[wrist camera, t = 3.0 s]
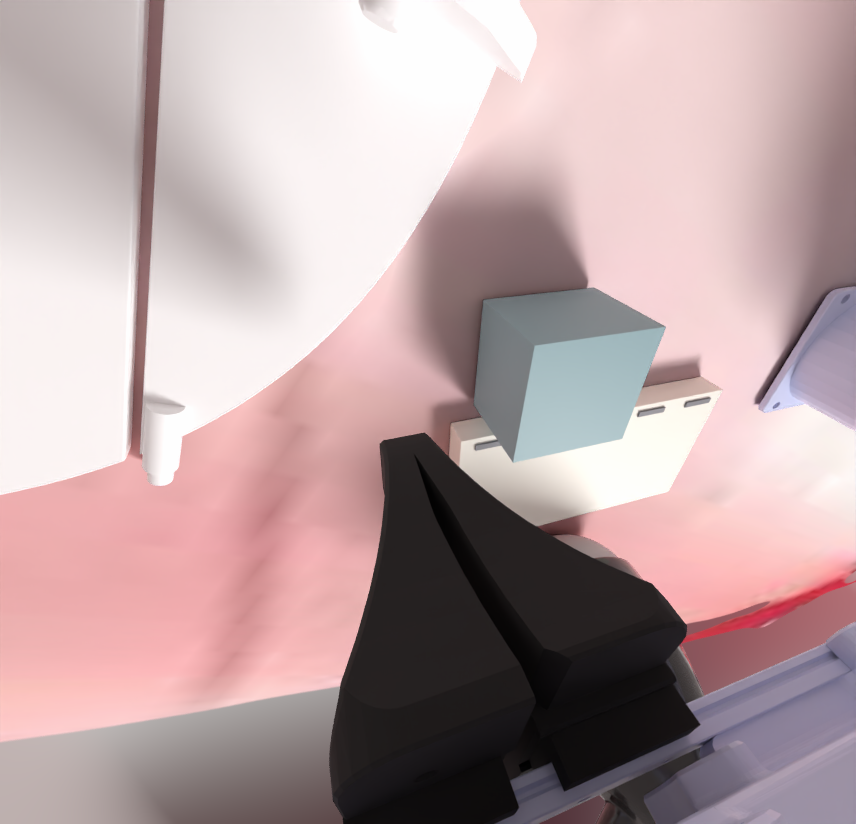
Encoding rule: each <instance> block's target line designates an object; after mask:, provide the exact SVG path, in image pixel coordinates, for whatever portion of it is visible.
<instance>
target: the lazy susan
mask: <svg viewBox="0 0 856 824" xmlns="http://www.w3.org/2000/svg"><path fill="white" fill-rule="evenodd" d="M520 1H521V0H164V15H163V34H162V52H161V71H160V89H159V108H158V126H157V145H156V163H155V182H154V200H153V219H152V237H151V256H150V274H149V293H148V311H147V330H146V348H145V367H144V386H143V404H142V423H141V441H140V454H143V458H142V468H143V469H144V470H145V471H146V472H147V480H148V482H149V483H150V484H152V485H156V486H163V485H167V484H169V483H171V482H172V480H173V477H174V471H176V470H177V469H178V467H179V462H180V453H181V445H182V436H184V435H186V434H188V433H190V432H192V431H194V430H196V429H198V428H200V427H202V426H204V425H205V424H207V423H209V422H211V421H213V420H215V419H217V418H218V417H220V416H222V415H224V414H225V413H227V412H229V411H230V410H232V409H234V408H235V407H237V406H239V405H240V404H242V403H243V402H245V401H246V400H248V399H250V398H251V397H253V396H254V395H256V394H257V393H259V392H260V391H261V390H263V389H264V388H266V387H267V386H268V385H270V384H271V383H273V382H274V381H275V380H277V379H278V378H279V377H281V376H282V375H283V374H284V373H286V372H287V371H288V370H290V369H291V368H292V367H293V366H295V365H296V364H297V363H298V362H299V361H301V360H302V359H303V358H304V357H305V356H306V355H308V354H309V353H310V352H311V351H312V350H313V349H314V348H315V347H317V346H318V345H319V344H320V343H321V342H322V341H323V340H324V339H325V338H326V337H327V336H328V335H329V334H330V333H331V332H332V331H333V330H334V329H335V328H336V327H337V326H338V325H339V324H340V323H341V322H342V321H343V320H344V319H345V318H346V317H347V316H348V315H349V314H350V313H351V312H352V310H353V309H354V308H355V307H356V306H357V305H358V304H359V303H360V302H361V301H362V299H363V298H364V297H365V296H366V295H367V293H368V292H369V291H370V290H371V288H372V287H373V286H374V285H375V284H376V282H377V281H378V280H379V279H380V277H381V276H382V275H383V273H384V272H385V271H386V269H387V268H388V267H389V266H390V264H391V263H392V262H393V260H394V259H395V258H396V256H397V255H398V253H399V252H400V250H401V249H402V247H403V246H404V245H405V243H406V242H407V240H408V239H409V237H410V236H411V234H412V233H413V231H414V230H415V228H416V226H417V225H418V223H419V222H420V220H421V218H422V217H423V215H424V214H425V212H426V211H427V209H428V207H429V205H430V204H431V202H432V200H433V198H434V197H435V195H436V193H437V192H438V190H439V188H440V186H441V185H442V183H443V181H444V179H445V177H446V175H447V173H448V171H449V170H450V168H451V166H452V164H453V162H454V160H455V158H456V156H457V154H458V152H459V150H460V148H461V146H462V144H463V142H464V140H465V138H466V136H467V134H468V131H469V129H470V127H471V125H472V123H473V121H474V119H475V116H476V114H477V112H478V109H479V107H480V105H481V103H482V100H483V98H484V96H485V93H486V91H487V89H488V86H489V84H490V81H491V79H492V76H493V74H494V71H495V69H496V66H497V67H499V68H500V69H502V70H503V71H505V72H506V73H508V74H509V75H511V76H512V77H514V78H515V79H517V80H518V81H519V82H522V80H523V78H524V75H525V73H526V70H527V68H528V65H529V63H530V60H531V58H532V55H533V53H534V50H535V48H536V31H535V30H534V28H533V26H532V25H531V23H530V21H529V19H528V18H527V16H526V14H525V12H524V11H523V9H522V7H521V5H520ZM148 23H149V0H0V495H1V494H6V493H11V492H16V491H20V490H25V489H29V488H33V487H37V486H42V485H46V484H49V483H53V482H57V481H61V480H64V479H68V478H72V477H75V476H78V475H82V474H85V473H88V472H92V471H95V470H98V469H101V468H104V467H107V466H110V465H113V464H116V463H119V462H122V461H124V460H125V459H126V457H127V454H128V452H129V450H130V447H131V441H132V416H133V391H134V367H135V342H136V318H137V293H138V268H139V244H140V219H141V195H142V170H143V146H144V121H145V96H146V72H147V47H148Z"/></svg>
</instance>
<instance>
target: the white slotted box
mask: <svg viewBox="0 0 856 824" xmlns="http://www.w3.org/2000/svg"><path fill="white" fill-rule="evenodd" d="M721 392H722V389H721V388H719V387H718V386H716V385H714V384H713V383H711V382H709V381H708V380H706V379H705V378H703V377H697V378H691V379H686V380H681V381H675V382H670V383H664V384H659V385H654V386H648V387H643V388H642V389H641V392H640V394H639V397H638V400H637V402H636V405H635V407H634V410H633V412H632V415H631V418H630V420H629V423H628V425H627V428H626V430H625V433H624V436H623V438H622V439H620V440H615V441H610V442H606V443H601V444H597V445H592V446H588V447H583V448H578V449H574V450H569V451H565V452H560V453H556V454H551V455H546V456H542V457H537V458H533V459H528V460H524V461H519V462H515V463H513V462H512V461H511V459H510V458H509V456H508V455H507V453H506V452H505V450H504V449H503V447H502V446H501V444H500V443H499V441H498V440H497V439H496V437H495V436H494V434H493V433H492V431H491V430H490V428H489V427H488V425H487V424H486V422H485V421H484V419H483V418H482V417H481V418H475V419H470V420H465V421H459V422H454V423H451V429H450V448H449V458H450V459H451V460H452V461H454V462H455V463H456V464H457V465H458V466H459V467H460V468H461V469H462V470H463V471H464V472H465V473H467V474H468V475H469V476H470V477H471V478H472V479H473V480H474V481H475V482H477V483H478V484H479V485H480V486H481V487H483V488H484V489H485V490H486V491H487V492H489V493H490V494H491V495H492V496H494V497H495V498H496V499H497V500H499V501H500V502H501V503H503V504H504V505H505V506H507V507H508V508H510V509H511V510H512V511H514V512H515V513H517V514H518V515H520V516H521V517H522V518H524V519H525V520H527V521H528V522H530V523H532V524H533V525H535V526H536V527H537V526H541V525H544V524H548V523H552V522H556V521H559V520H563V519H567V518H571V517H574V516H578V515H582V514H586V513H590V512H593V511H597V510H601V509H605V508H608V507H612V506H616V505H620V504H623V503H627V502H631V501H635V500H639V499H642V498H646V497H650V496H654V495H657V494H661V493H665V492H668V491H669V489H670V487H671V486H672V484H673V482H674V480H675V478H676V476H677V474H678V473H679V471H680V469H681V467H682V465H683V463H684V461H685V459H686V458H687V456H688V454H689V452H690V450H691V448H692V446H693V444H694V443H695V441H696V439H697V437H698V435H699V433H700V431H701V430H702V428H703V426H704V424H705V422H706V420H707V418H708V416H709V415H710V413H711V411H712V409H713V407H714V405H715V403H716V402H717V400H718V398H719V396H720V394H721Z"/></svg>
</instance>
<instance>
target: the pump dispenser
mask: <svg viewBox="0 0 856 824" xmlns="http://www.w3.org/2000/svg"><path fill="white" fill-rule="evenodd" d="M553 537H555V538H557V539H558V540H560V541H562V542H564V543H566V544H567V545H569V546H571V547H573V548H574V549H576V550H578V551H580V552H582V553H584V554H586V555H588V556H590V557H592V558H594V559H596V560H598V561H601V562H603V563H605V564H607V565H609V566H611V567H614V568H616V569H618V570H621V571H623V572H626V573H628V574H630V575H633V576H635V577H637V578H640V579H642V578H641V576H640V575H639V574H638V572H637V571H636V570H635V569H634V567H633V566H632V565H631V564H630V563H629V562H628V561H626V560H624V559H622V558H618V557H617V556H616V555H615V554H613V553H612V552H611V551H610V550H608V549H607V548H606V547H604V546H603V545H601V544H599V543H597V542H595V541H593V540H591V539H588V538H585V537H582V536H577V535H555V536H553ZM642 580H643V579H642ZM666 663H667V665H668V666H669V668H670V669H671V670H672V672H673V673H674V675H675V676H676V679H677V681H676V682H675V683H674V684H673V686H674V687H675V689H676V690H677V691H678V693H679V694H680V696H681V697H682V699H683V700H684V701H685V703H686V704H687V703H689V702H691V701H694V700H696V699H698V698H700V697H703V696H704V694H703V691H702V689H701V686H700V684H699V681H698V679H697V677H696V674H695V672H694V670H693V668H692V666H691V663H690V661H689V659H688V657H687V655H686V653H685V651H684V649H683V647H682V645H681V644H680V645H679V646H678V648H677V649H676V650H675V651H674V652H673V654H672V655H671V656H670V657H669V658H668V659H667V661H666ZM701 747H702V746H701ZM701 747H699V748H697V749H695V750H693V751H691V752H689V753H687V754H684V755H682V756H680V757H678V758H676V759H674V760H672V761H670V762H668V763H665V764H663V765H661V766H659V767H657V768H655V769H653V770H651V771H649V772H646V773H644V774H642V775H640V776H638V777H636V778H634V779H632V780H630V781H627V782H625V783H623V784H621V785H619V786H617V787H615V788H613V789H610V790H608V791H606V792H604V793H602V794H600V796H601V797H602V798H603V799H604V800H605V805H604V808H603V809H602V811H601V813H600V815H599V817H598V819H597V821H596V823H595V824H656V823H655V821H654V819H653V817H652V816H651V814H650V812H649V810H648V808H647V806H646V804H645V803H644V795H646V794H647V793H649V792H650V791H652V790H654V789H655V788H657V787H658V786H660V785H661V784H663V783H664V782H666V781H667V780H668V779H670V778H671V777H672V776H673V775H674V774H675V773H676V772H678V771H680V770H682V769H684V768H685V767H687V766H689V765H691V764H693V763H695V762H697V761H698V760H700V759H701V757H700V748H701Z"/></svg>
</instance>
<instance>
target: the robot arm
mask: <svg viewBox="0 0 856 824" xmlns="http://www.w3.org/2000/svg"><path fill="white" fill-rule="evenodd" d="M802 404H806V405H808V406H810V407H812V408H814V409H816V410H817V411H819V412H821V413H823V414H825V415H826V416H828V417H830V418H832V419H834V420H836V421H837V422H839V423H841V424H843V425H845V426H847V427H848V428H850V429H852V430H854V431H856V286H853V287H845V288H838V289H835V290H833V291H831V292H830V293H829V294H828V295H827V296H826V297H825V299H824V301H823V302H822V304H821V305H820V307H819V309H818V310H817V312H816V313H815V315H814V317H813V318H812V320H811V322H810V323H809V325H808V326H807V328H806V330H805V331H804V333H803V335H802V336H801V338H800V339H799V341H798V343H797V344H796V346H795V348H794V349H793V351H792V352H791V354H790V356H789V357H788V359H787V361H786V362H785V364H784V365H783V367H782V369H781V370H780V372H779V373H778V375H777V377H776V378H775V380H774V382H773V383H772V385H771V386H770V388H769V390H768V391H767V393H766V395H765V396H764V398H763V399H762V401H761V403H760V404H759V410H761V411H762V412H764V413H766V412H771V411H775V410H780V409H784V408H789V407H793V406H798V405H802ZM380 455H381V467H382V479H383V489H384V494H385V500H384V511H383V521H382V529H381V536H380V542H379V548H378V554H377V559H376V564H375V568H374V573H373V578H372V582H371V586H370V591H369V594H368V598H367V602H366V605H365V609H364V612H363V616H362V620H361V623H360V627H359V630H358V633H357V637H356V640H355V643H354V646H353V649H352V652H351V655H350V658H349V661H348V664H347V667H346V669H345V672H344V675H343V678H342V681H341V685H340V692H339V699H338V703H337V709H336V714H335V719H334V724H333V730H332V736H331V744H330V757H329V761H330V762H329V766H330V777H331V786H332V795H333V802H334V803H335V805H336V807H337V808H338V810H339V812H340V813H341V815H342V817H343V824H539V823H540V822H543V821H545V820H547V819H549V818H551V817H553V816H555V815H558V814H560V813H562V812H564V811H566V810H568V809H570V808H572V807H574V806H577V805H579V804H581V803H583V802H585V801H587V800H589V799H591V798H594V797H595V796H598V795H600V794H602V793H604V792H606V791H608V790H610V789H613V788H615V787H617V786H619V785H621V784H623V783H625V782H627V781H630V780H632V779H634V778H636V777H638V776H640V775H642V774H644V773H646V772H649V771H651V770H653V769H655V768H657V767H659V766H661V765H663V764H665V763H668V762H670V761H672V760H674V759H676V758H678V757H680V756H682V755H684V754H687V753H689V752H691V751H693V750H695V749H697V748H699V747H701V746H702V747H701V748H700V757H701V759H700V760H698V761H697V762H695V763H693V764H691V765H689V766H687V767H685V768H684V769H682V770H680V771H678V772H676V773H675V774H674V775H673V776H672V777H671V778H670V779H668V780H667V781H666V782H664V783H663V784H661V785H660V786H658V787H657V788H655V789H654V790H652V791H650V792H649V793H647V794H646V795H644V803H645V804H646V806H647V808H648V810H649V812H650V814H651V816H652V817H653V819H654V821H655V823H656V824H856V622H854V623H852V624H849V625H847V626H846V627H844V628H842V629H841V630H839V631H838V632H836V633H835V634H833V635H832V636H831V637H830V638H829V639H827V640H826V643H825V644H822V645H820V646H818V647H815V648H813V649H811V650H808V651H806V652H804V653H802V654H799V655H797V656H795V657H792V658H790V659H788V660H786V661H783V662H781V663H779V664H776V665H774V666H772V667H770V668H767V669H765V670H763V671H760V672H758V673H756V674H754V675H751V676H749V677H747V678H744V679H742V680H740V681H737V682H735V683H733V684H730V685H728V686H726V687H723V688H721V689H719V690H717V691H714V692H712V693H710V694H707V695H705V696H703V697H700V698H698V699H696V700H694V701H691V702H689V703H687V704H686V703H685V701H684V700H683V699H682V697H681V696H680V694H679V693H678V691H677V690H676V689H675V687H674V686H673V684H674V683H675V682H676V681H677V679H676V676H675V675H674V673H673V672H672V670H671V669H670V668H669V666H668V665H667V663H666V661H667V659H668V658H669V657H670V656H671V655H672V654H673V652H674V651H675V650H676V649H677V648H678V646H679V645H680V644H681V643H682V641H683V640H684V638H685V637H686V632H687V625H686V624H685V623H684V621H683V620H682V619H681V618H680V616H679V615H678V614H677V613H676V611H675V610H674V609H673V607H672V606H671V605H670V604H669V602H668V601H667V600H666V599H665V597H664V596H663V595H662V594H661V593H660V592H659V591H658V590H657V589H656V588H655V587H654V585H653V584H651V583H649V582H647V581H644V580H642V579H640V578H637V577H635V576H633V575H630V574H628V573H626V572H623V571H621V570H618V569H616V568H614V567H611V566H609V565H607V564H605V563H603V562H601V561H598V560H596V559H594V558H592V557H590V556H588V555H586V554H584V553H582V552H580V551H578V550H576V549H574V548H573V547H571V546H569V545H567V544H566V543H564V542H562V541H560V540H558V539H557V538H555V537H553V536H551V535H550V534H548V533H546V532H544V531H543V530H541V529H539V528H538V527H536V526H535V525H533V524H532V523H530V522H528V521H527V520H525V519H524V518H522V517H521V516H520V515H518V514H517V513H515V512H514V511H512V510H511V509H510V508H508V507H507V506H505V505H504V504H503V503H501V502H500V501H499V500H497V499H496V498H495V497H494V496H492V495H491V494H490V493H489V492H487V491H486V490H485V489H484V488H483V487H481V486H480V485H479V484H478V483H477V482H475V481H474V480H473V479H472V478H471V477H470V476H469V475H468V474H467V473H465V472H464V471H463V470H462V469H461V468H460V467H459V466H458V465H457V464H456V463H455V462H454V461H452V460H451V459H450V458H449V457H448V456H447V455H446V454H445V453H444V452H443V451H442V450H441V449H440V448H439V446H438V445H437V444H436V443H435V442H434V441H433V440H432V439H431V438H430V437H429V436H428V435H427V434H425V433H420V434H415V435H410V436H404V437H399V438H394V439H389V440H384V441H382V442H381V443H380Z"/></svg>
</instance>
